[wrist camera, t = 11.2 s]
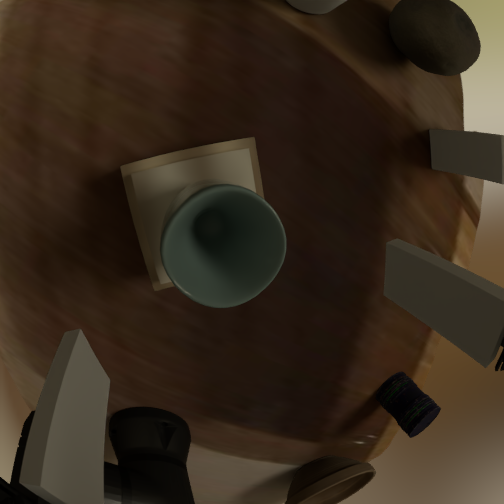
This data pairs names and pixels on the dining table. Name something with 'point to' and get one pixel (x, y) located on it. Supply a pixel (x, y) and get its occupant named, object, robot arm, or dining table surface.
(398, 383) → the storage jar
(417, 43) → the black ball
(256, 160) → the pedestal
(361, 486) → the flower pot
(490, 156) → the milk carton
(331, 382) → the dining table surface
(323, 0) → the alcohol
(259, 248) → the cup
